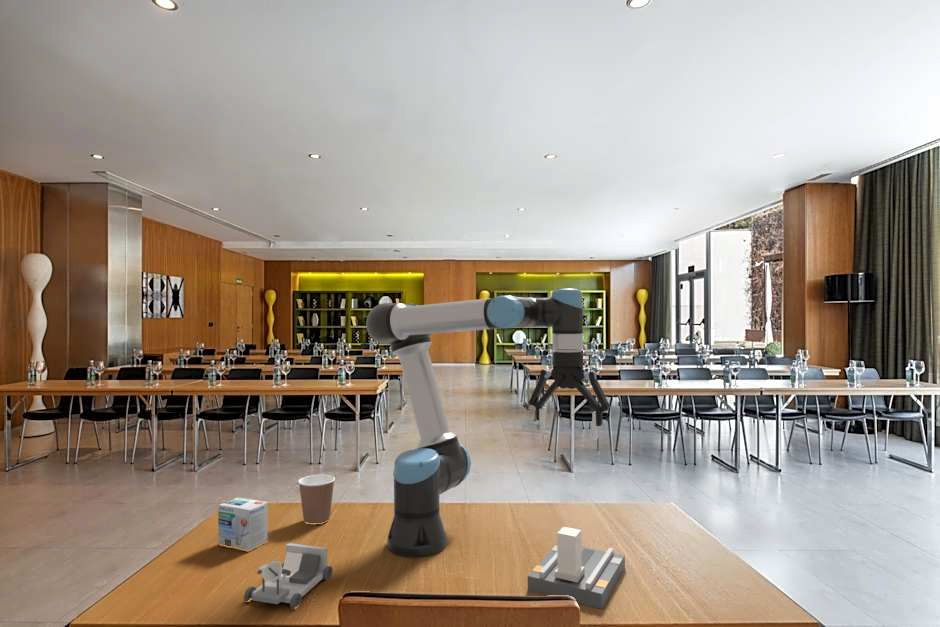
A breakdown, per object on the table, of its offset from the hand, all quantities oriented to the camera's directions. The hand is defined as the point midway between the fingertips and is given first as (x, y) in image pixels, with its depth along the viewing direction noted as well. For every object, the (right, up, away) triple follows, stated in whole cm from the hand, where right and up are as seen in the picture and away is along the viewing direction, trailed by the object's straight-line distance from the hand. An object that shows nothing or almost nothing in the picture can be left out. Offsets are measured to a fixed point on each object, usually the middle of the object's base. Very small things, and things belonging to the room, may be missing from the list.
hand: (568, 436), depth 133 cm
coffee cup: (-69, -30, +22) cm, 78 cm away
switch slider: (-3, -25, -19) cm, 32 cm away
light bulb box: (-83, -30, +6) cm, 89 cm away
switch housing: (0, -29, -14) cm, 32 cm away
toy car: (-64, -29, -19) cm, 73 cm away
